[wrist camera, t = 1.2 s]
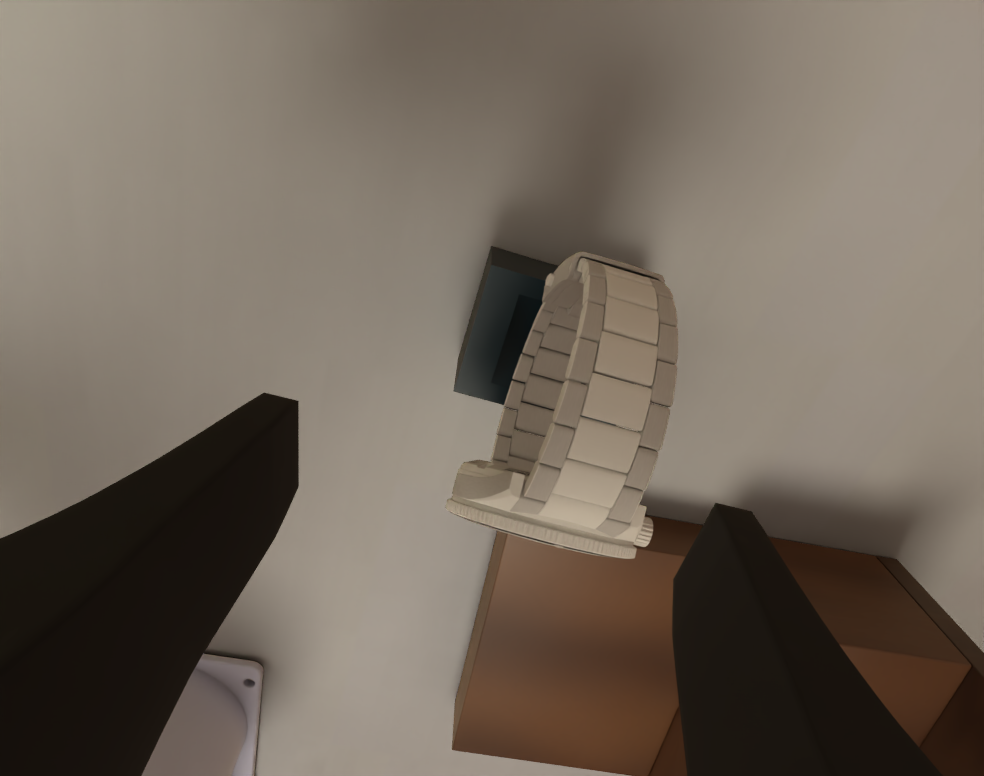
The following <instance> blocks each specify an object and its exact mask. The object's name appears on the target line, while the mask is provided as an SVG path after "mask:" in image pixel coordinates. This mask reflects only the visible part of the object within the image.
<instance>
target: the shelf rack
mask: <svg viewBox="0 0 984 776" xmlns="http://www.w3.org/2000/svg"><path fill="white" fill-rule="evenodd" d="M645 517H648V518H650V519H652V521H653V534H652V537H651V540H650V543H648V545H647V546H646V547H641V546H637V545H633V546H634V547H635V548H637V551H636V555H635V558H633V559H621V558H611V557H604V556H597V555H592V554H587V553H582V552H577V551H573V550H568V549H564V548H558V547H555V546H552V545H548V544H544V543H540V542H536V541H533V540H529V539H525V538H522V537H518V536H515V535H511V534H508V533H505V532H501V531H497V535H496V539H495V543H494V547H493V551H492V555H491V559H490V563H489V567H488V571H487V575H486V579H485V583H484V587H483V591H482V595H481V599H480V603H479V607H478V612H477V616H476V620H475V624H474V628H473V632H472V636H471V640H470V644H469V648H468V652H467V656H466V660H465V664H464V668H463V672H462V676H461V680H460V684H459V688H458V692H457V696H456V700H455V708H454V724H453V740H452V750H456V751H463V752H470V753H477V754H484V755H491V756H498V757H505V758H512V759H519V760H526V761H533V762H540V763H547V764H554V765H561V766H568V767H575V768H582V769H589V770H596V771H603V772H610V773H617V774H624V775H631V776H687V769H686V760H685V751H684V742H683V733H682V724H681V715H680V706H679V698H678V689H677V679H676V670H675V660H674V651H673V640H672V605H673V579H674V577H675V575H676V573H677V572H678V570H679V568H680V566H681V564H682V563H683V561H684V559H685V557H686V555H687V554H688V552H689V550H690V548H691V546H692V545H693V543H694V541H695V539H696V537H697V536H698V534H699V532H700V530H701V528H702V527H703V525H698V524H693V523H687V522H681V521H676V520H670V519H664V518H659V517H653V516H647V515H645ZM769 539H770V540H771V542H772V544H773V545H774V547H775V548H776V550H777V551H778V553H779V555H780V556H781V558H782V559H783V561H784V562H785V564H786V566H787V567H788V569H789V570H790V572H791V573H792V575H793V576H794V578H795V580H796V581H797V583H798V584H799V586H800V587H801V589H802V590H803V592H804V593H805V595H806V596H807V598H808V599H809V601H810V602H811V604H812V605H813V607H814V608H815V610H816V611H817V613H818V614H819V616H820V617H821V619H822V620H823V622H824V623H825V625H826V626H827V628H828V629H829V631H830V632H831V633H832V635H833V636H834V638H835V639H836V641H837V642H838V643H839V645H840V646H841V648H842V649H843V650H844V652H845V653H846V655H847V656H848V657H849V659H850V660H851V662H852V663H853V664H854V666H855V667H856V668H857V670H858V671H859V672H860V674H861V675H862V676H863V678H864V679H865V680H866V682H867V683H868V684H869V686H870V687H871V688H872V690H873V691H874V692H875V694H876V695H877V696H878V698H879V699H880V700H881V702H882V703H883V704H884V705H885V707H886V708H887V709H888V710H889V712H890V713H891V714H892V715H893V717H894V718H895V719H896V720H897V722H898V723H899V724H900V725H901V727H902V728H903V729H904V730H905V731H906V733H907V734H908V735H909V736H910V737H911V738H912V740H913V741H914V742H915V743H916V744H917V746H918V747H919V748H920V749H921V750H922V752H923V753H924V754H925V755H926V756H927V758H928V759H929V760H930V761H931V762H932V763H933V765H934V766H935V767H936V768H937V769H938V771H939V772H940V773H941V774H942V775H943V776H984V653H983V652H982V651H981V649H980V648H979V647H978V646H977V645H976V644H975V643H974V642H973V641H972V640H971V639H970V638H969V637H968V635H967V634H966V633H965V632H964V631H963V630H962V629H961V628H960V627H959V626H958V625H957V624H956V623H955V621H954V620H953V619H952V618H951V617H950V616H949V615H948V614H947V613H946V612H945V611H944V610H943V609H942V607H941V606H940V605H939V604H938V603H937V602H936V601H935V600H934V599H933V598H932V597H931V596H930V595H929V593H928V592H927V591H926V590H925V589H924V588H923V587H922V586H921V585H920V584H919V583H918V582H917V581H916V579H915V578H914V577H913V576H912V575H911V574H910V573H909V572H908V571H907V570H906V569H905V568H904V567H903V565H902V564H901V563H900V562H899V561H898V560H897V559H892V558H886V557H880V556H873V555H867V554H862V553H856V552H850V551H845V550H839V549H833V548H828V547H822V546H816V545H811V544H805V543H799V542H793V541H788V540H782V539H776V538H771V537H769Z"/></svg>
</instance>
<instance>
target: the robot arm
mask: <svg viewBox="0 0 984 776" xmlns="http://www.w3.org/2000/svg"><path fill="white" fill-rule="evenodd" d="M297 489H298V401H296V400H292V399H288V398H284V397H280V396H276V395H272V394H267V393H263V394H261V395H259V396H258V397H256V398H254V399H253V400H251V401H249V402H248V403H246V404H245V405H243V406H241V407H240V408H238V409H237V410H235V411H234V412H232V413H230V414H229V415H227V416H226V417H224V418H223V419H221V420H219V421H218V422H216V423H215V424H213V425H212V426H210V427H208V428H207V429H205V430H204V431H202V432H201V433H199V434H197V435H196V436H194V437H193V438H191V439H189V440H188V441H186V442H184V443H183V444H181V445H179V446H178V447H176V448H175V449H173V450H171V451H170V452H168V453H166V454H165V455H163V456H161V457H160V458H158V459H156V460H155V461H153V462H151V463H150V464H148V465H146V466H145V467H143V468H141V469H139V470H138V471H136V472H134V473H132V474H130V475H128V476H127V477H125V478H123V479H121V480H119V481H118V482H116V483H114V484H112V485H110V486H109V487H107V488H105V489H103V490H101V491H99V492H98V493H96V494H94V495H92V496H90V497H88V498H86V499H84V500H82V501H80V502H78V503H77V504H75V505H72V506H70V507H68V508H66V509H64V510H62V511H60V512H58V513H56V514H54V515H52V516H50V517H47V518H45V519H43V520H41V521H39V522H37V523H34V524H32V525H30V526H28V527H26V528H24V529H21V530H19V531H17V532H15V533H12V534H10V535H8V536H6V537H3V538H1V539H0V776H254V771H255V760H256V749H257V737H258V726H259V715H260V703H261V692H262V681H263V667H262V666H261V665H260V664H259V663H257V662H255V661H249V660H243V659H236V658H229V657H223V656H216V655H209V654H203V653H204V652H205V650H206V648H207V647H208V645H209V643H210V642H211V640H212V639H213V637H214V635H215V634H216V632H217V631H218V629H219V627H220V626H221V624H222V623H223V621H224V619H225V618H226V616H227V615H228V613H229V611H230V610H231V608H232V607H233V605H234V603H235V602H236V600H237V599H238V597H239V595H240V594H241V592H242V591H243V589H244V587H245V586H246V584H247V583H248V581H249V579H250V578H251V576H252V574H253V573H254V571H255V570H256V568H257V566H258V565H259V563H260V561H261V560H262V558H263V557H264V555H265V553H266V552H267V550H268V548H269V547H270V545H271V543H272V542H273V540H274V538H275V537H276V534H277V532H278V530H279V528H280V526H281V524H282V522H283V520H284V518H285V516H286V513H287V511H288V509H289V507H290V504H291V502H292V500H293V498H294V495H295V493H296V491H297ZM672 640H673V651H674V660H675V670H676V679H677V689H678V698H679V706H680V715H681V724H682V733H683V742H684V751H685V760H686V769H687V776H943V775H942V774H941V773H940V772H939V771H938V769H937V768H936V767H935V766H934V765H933V763H932V762H931V761H930V760H929V759H928V758H927V756H926V755H925V754H924V753H923V752H922V750H921V749H920V748H919V747H918V746H917V744H916V743H915V742H914V741H913V740H912V738H911V737H910V736H909V735H908V734H907V733H906V731H905V730H904V729H903V728H902V727H901V725H900V724H899V723H898V722H897V720H896V719H895V718H894V717H893V715H892V714H891V713H890V712H889V710H888V709H887V708H886V707H885V705H884V704H883V703H882V702H881V700H880V699H879V698H878V696H877V695H876V694H875V692H874V691H873V690H872V688H871V687H870V686H869V684H868V683H867V682H866V680H865V679H864V678H863V676H862V675H861V674H860V672H859V671H858V670H857V668H856V667H855V666H854V664H853V663H852V662H851V660H850V659H849V657H848V656H847V655H846V653H845V652H844V650H843V649H842V648H841V646H840V645H839V643H838V642H837V641H836V639H835V638H834V636H833V635H832V633H831V632H830V631H829V629H828V628H827V626H826V625H825V623H824V622H823V620H822V619H821V617H820V616H819V614H818V613H817V611H816V610H815V608H814V607H813V605H812V604H811V602H810V601H809V599H808V598H807V596H806V595H805V593H804V592H803V590H802V589H801V587H800V586H799V584H798V583H797V581H796V580H795V578H794V576H793V575H792V573H791V572H790V570H789V569H788V567H787V566H786V564H785V562H784V561H783V559H782V558H781V556H780V555H779V553H778V551H777V550H776V548H775V547H774V545H773V544H772V542H771V540H770V539H769V537H768V536H767V534H766V533H765V531H764V529H763V528H762V526H761V525H760V523H759V522H758V520H757V519H756V517H755V516H754V514H753V513H752V512H751V511H747V510H743V509H739V508H735V507H730V506H726V505H722V504H718V503H715V505H714V507H713V509H712V510H711V512H710V514H709V516H708V518H707V519H706V521H705V523H704V525H703V527H702V528H701V530H700V532H699V534H698V536H697V537H696V539H695V541H694V543H693V545H692V546H691V548H690V550H689V552H688V554H687V555H686V557H685V559H684V561H683V563H682V564H681V566H680V568H679V570H678V572H677V573H676V575H675V577H674V579H673V605H672ZM249 679H251V680H253V681H251V680H249Z"/></svg>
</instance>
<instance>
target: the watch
mask: <svg viewBox="0 0 984 776" xmlns="http://www.w3.org/2000/svg"><path fill="white" fill-rule="evenodd" d="M664 281H665V280H664V278H663V276H662V275H659V274H656V273H653V272H651V271H648V270H644V269H641V268H638V267H635V266H632V265H629V264H626V263H622V262H619V261H615V260H612V259H609V258H605V257H601V256H598V255H594V254H591V253H587V252H583V251H581V252H578V253H576V254H574V255H572V256H570V257H569V258H567V259H566V260H565V261H564V262H562V263H561V265H560V266H556V265H553V264H549V263H546V262H542V261H539V260H536V259H532V258H529V257H526V256H522V255H519V254H516V253H512V252H509V251H506V250H502V249H499V248H496V247H492V246H491V249H490V252H489V256H488V259H487V263H486V266H485V269H484V273H483V276H482V280H481V283H480V286H479V290H478V293H477V297H476V300H475V303H474V307H473V310H472V314H471V317H470V320H469V324H468V327H467V331H466V334H465V337H464V341H463V344H462V348H461V351H460V354H459V358H458V364H457V371H456V378H455V385H454V391H455V392H458V393H462V394H466V395H469V396H473V397H477V398H480V399H484V400H488V401H491V402H495V403H499V404H502V405H504V407H506V408H504V409H503V412H502V415H501V419H500V422H499V426H498V430H497V437H496V440H495V444H494V448H493V452H492V457H491V462H488V461H483V460H474V461H469V462H464V463H463V464H462V465H461V468H460V469H459V470H458V473H457V476H456V480H455V484H454V488H453V492H452V494H453V496H452V498H451V499H447V503H446V507H445V508H446V509H447V510H448V511H450V512H451V513H453V514H456V515H458V516H460V517H463V518H465V519H467V520H469V521H472V522H475V523H477V524H480V525H483V526H486V527H489V528H492V529H495V530H498V531H501V532H505V533H508V534H511V535H515V536H518V537H522V538H525V539H529V540H533V541H536V542H540V543H544V544H548V545H552V546H555V547H558V548H564V549H568V550H573V551H577V552H582V553H587V554H592V555H597V556H604V557H611V558H621V559H633V558H635V555H636V551H637V548H635V547H634V546H633V545H637V546H641V547H646V546H647V545H648V543H650V540H651V537H652V534H653V521H652V519H650V518H648V517H645V513H646V508H647V507H646V506H642V505H639V503H640V501H641V499H642V496H643V490H646V489H647V486H648V484H649V481H650V479H651V476H652V473H653V470H654V467H655V464H656V461H657V458H658V452H657V451H656V450H658V451H659V450H661V447H662V444H663V440H664V436H665V432H666V428H667V424H668V419H669V414H670V409H669V408H666V407H671V406H672V403H673V397H674V391H675V383H676V374H677V366H676V365H675V364H676V362H677V353H678V330H677V328H676V326H677V315H676V308H675V304H674V301H673V295H672V293H671V291H670V289H669V288H668V287H667V286H666V285H665V283H664ZM633 383H634V384H633ZM636 384H638V385H636ZM639 385H641V386H639ZM643 386H645V387H643ZM646 387H648V388H646ZM650 402H651V403H650ZM652 403H655V404H652ZM656 404H659V405H662V406H659V405H656ZM663 406H666V407H663ZM507 408H509V409H507ZM511 409H513V410H511ZM514 410H517V411H514ZM616 425H619V426H622V427H626V428H630V429H633V430H637V431H638V432H636V431H632V430H628V429H625V428H621V427H617V426H616ZM572 427H573V428H572ZM515 429H516V430H515ZM518 430H520V431H518ZM522 431H523V432H522ZM526 432H527V433H526ZM529 433H531V434H529ZM533 434H535V435H533ZM537 435H538V436H537ZM541 436H542V437H541ZM544 437H545V438H544ZM642 446H643V447H642ZM646 447H647V448H646Z"/></svg>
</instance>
